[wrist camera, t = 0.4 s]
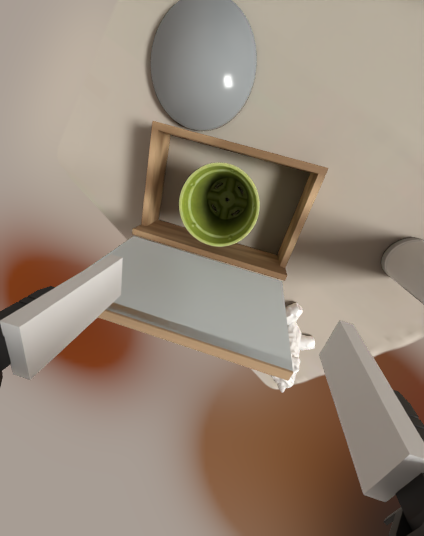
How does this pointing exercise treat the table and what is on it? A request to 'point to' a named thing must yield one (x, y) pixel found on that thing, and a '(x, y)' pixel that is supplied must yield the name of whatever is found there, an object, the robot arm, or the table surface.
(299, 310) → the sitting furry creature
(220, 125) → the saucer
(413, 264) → the travel mug
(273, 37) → the table surface
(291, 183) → the table surface
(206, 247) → the frame
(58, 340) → the robot arm
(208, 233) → the plant pot
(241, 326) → the lid
